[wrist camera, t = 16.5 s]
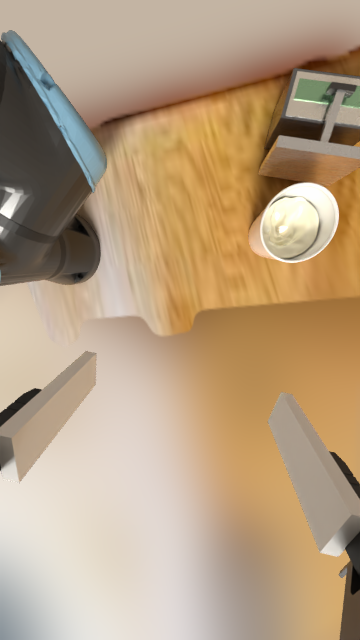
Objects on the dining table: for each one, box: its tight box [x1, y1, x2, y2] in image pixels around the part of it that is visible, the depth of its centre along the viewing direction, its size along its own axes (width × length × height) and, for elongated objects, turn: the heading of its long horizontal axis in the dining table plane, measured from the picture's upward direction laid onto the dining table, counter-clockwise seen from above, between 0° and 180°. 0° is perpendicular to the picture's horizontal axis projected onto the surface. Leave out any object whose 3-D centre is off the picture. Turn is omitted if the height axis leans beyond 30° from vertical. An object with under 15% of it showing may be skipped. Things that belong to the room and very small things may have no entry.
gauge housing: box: [264, 68, 360, 150], centre depth 29 cm, size 12×5×8 cm, turn 80°
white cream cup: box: [248, 182, 339, 263], centre depth 32 cm, size 10×10×12 cm
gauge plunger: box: [258, 82, 360, 186], centre depth 28 cm, size 12×7×9 cm, turn 80°
